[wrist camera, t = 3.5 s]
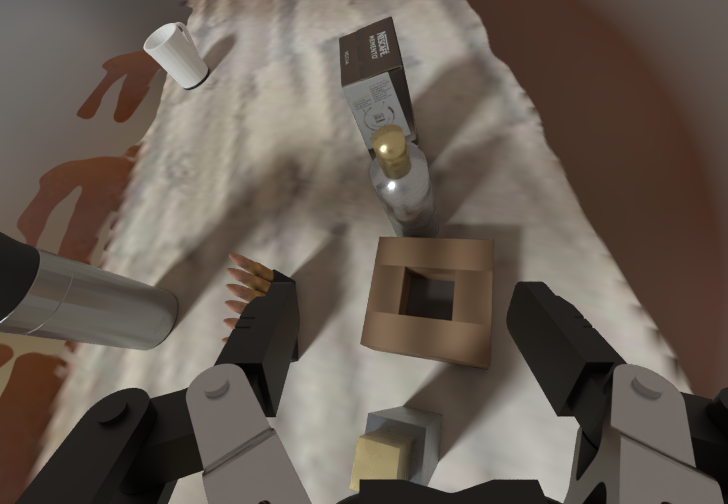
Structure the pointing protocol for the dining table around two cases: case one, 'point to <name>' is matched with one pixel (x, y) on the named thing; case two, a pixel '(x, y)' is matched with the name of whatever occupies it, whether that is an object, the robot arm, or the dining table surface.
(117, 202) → the dining table surface
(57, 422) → the dining table surface
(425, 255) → the socket block
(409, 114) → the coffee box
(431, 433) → the square bit
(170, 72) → the mug
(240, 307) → the ammunition clip
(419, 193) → the silver bottle
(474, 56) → the dining table surface
